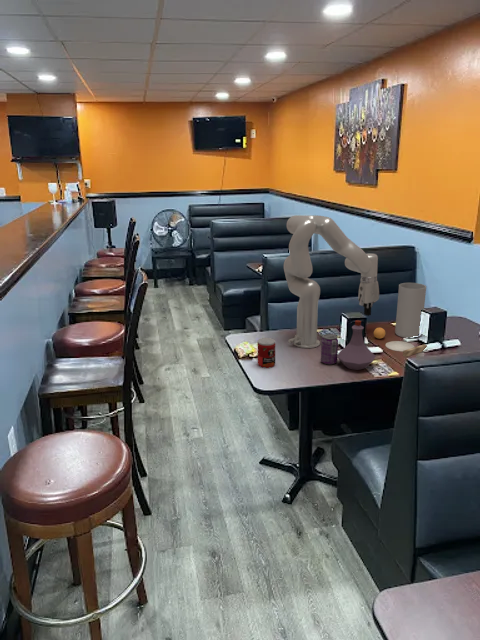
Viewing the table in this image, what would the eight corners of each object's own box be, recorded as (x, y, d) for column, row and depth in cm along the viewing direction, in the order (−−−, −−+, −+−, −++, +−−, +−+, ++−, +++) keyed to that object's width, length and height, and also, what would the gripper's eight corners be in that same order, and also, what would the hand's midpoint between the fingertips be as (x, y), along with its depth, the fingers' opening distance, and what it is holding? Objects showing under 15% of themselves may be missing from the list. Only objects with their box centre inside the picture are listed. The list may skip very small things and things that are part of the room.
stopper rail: (405, 356, 221) (405, 351, 221) (402, 355, 223) (403, 350, 222) (426, 350, 228) (427, 345, 227) (423, 349, 229) (424, 344, 229)
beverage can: (338, 360, 219) (339, 334, 216) (335, 366, 213) (337, 339, 209) (322, 358, 222) (323, 332, 218) (319, 364, 215) (320, 338, 211)
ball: (379, 341, 241) (380, 330, 239) (370, 337, 245) (371, 327, 243) (387, 338, 243) (388, 328, 242) (378, 335, 248) (379, 325, 246)
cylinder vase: (423, 339, 242) (428, 289, 234) (396, 338, 244) (400, 288, 236) (419, 330, 254) (424, 283, 246) (393, 329, 256) (397, 282, 248)
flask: (333, 358, 222) (335, 315, 215) (371, 358, 221) (374, 315, 214) (338, 373, 206) (340, 327, 200) (378, 373, 205) (382, 327, 199)
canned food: (263, 369, 211) (263, 345, 208) (254, 363, 218) (254, 339, 214) (278, 366, 214) (279, 342, 211) (269, 359, 221) (269, 336, 218)
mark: (401, 353, 225) (401, 353, 225) (379, 345, 236) (379, 344, 236) (420, 347, 232) (420, 347, 231) (398, 339, 242) (398, 339, 242)
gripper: (363, 283, 237) (361, 319, 243) (385, 278, 244) (383, 313, 250) (352, 280, 243) (351, 316, 249) (374, 275, 250) (372, 310, 256)
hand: (367, 314), depth 249 cm, fingers closed
